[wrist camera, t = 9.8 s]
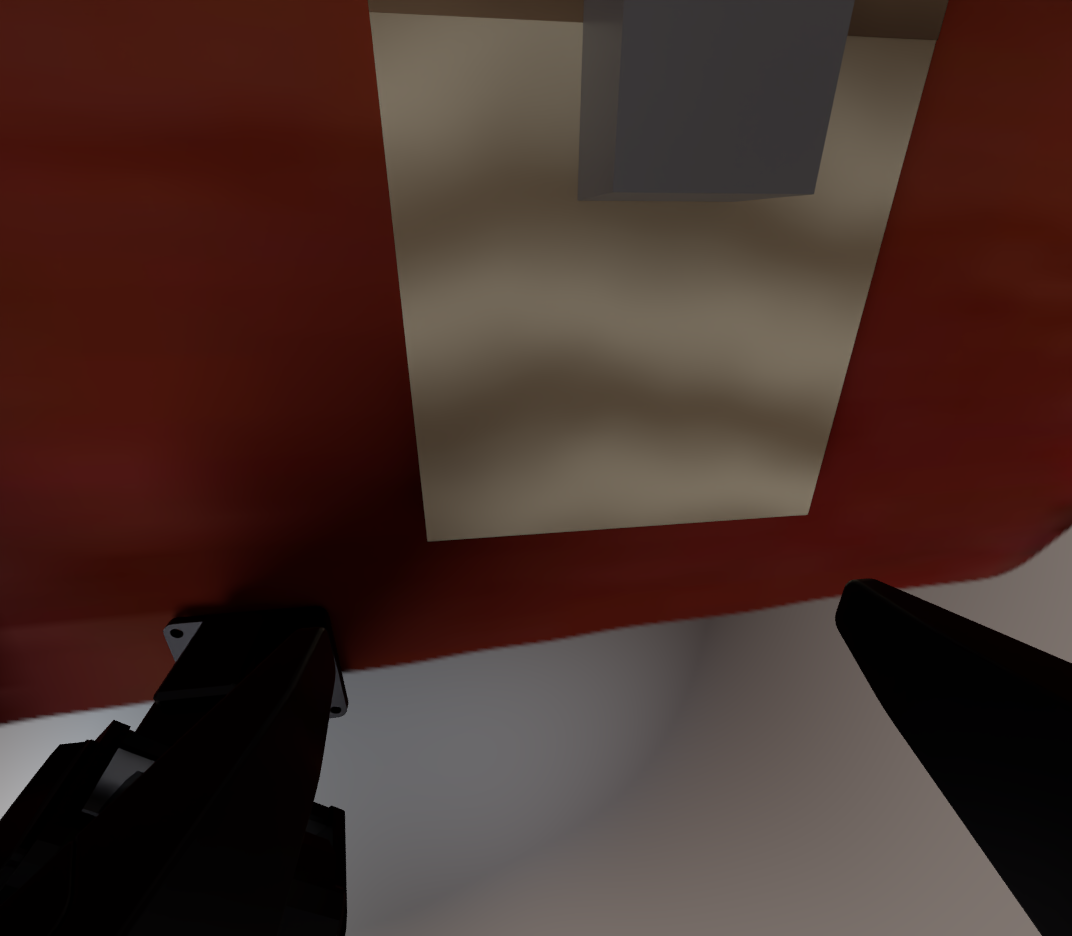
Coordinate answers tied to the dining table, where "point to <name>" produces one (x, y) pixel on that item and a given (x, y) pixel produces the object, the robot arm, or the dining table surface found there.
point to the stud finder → (707, 97)
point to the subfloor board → (618, 282)
